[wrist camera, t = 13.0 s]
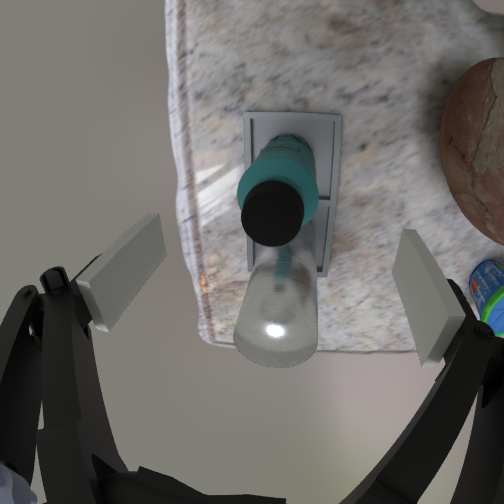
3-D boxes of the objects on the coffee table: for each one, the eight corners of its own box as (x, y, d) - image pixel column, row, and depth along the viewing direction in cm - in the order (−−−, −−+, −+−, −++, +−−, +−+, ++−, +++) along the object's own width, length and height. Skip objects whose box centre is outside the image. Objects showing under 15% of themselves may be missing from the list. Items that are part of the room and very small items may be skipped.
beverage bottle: (321, 172, 35) (337, 253, 18) (272, 187, 37) (243, 276, 20) (304, 124, 32) (307, 155, 15) (254, 141, 34) (202, 191, 17)
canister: (316, 212, 38) (323, 314, 21) (312, 257, 41) (312, 370, 24) (264, 209, 39) (230, 306, 22) (264, 254, 42) (235, 363, 25)
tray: (339, 114, 32) (341, 115, 30) (326, 268, 43) (327, 277, 41) (247, 111, 33) (243, 112, 31) (250, 262, 45) (247, 271, 43)
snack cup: (506, 230, 33) (538, 262, 24) (518, 268, 36) (544, 301, 27) (442, 284, 41) (463, 325, 32) (460, 316, 43) (478, 355, 34)
